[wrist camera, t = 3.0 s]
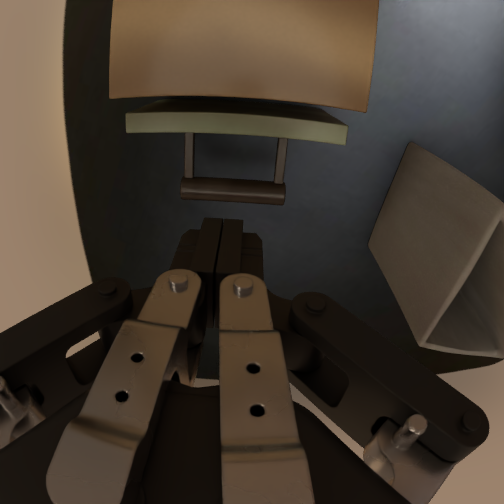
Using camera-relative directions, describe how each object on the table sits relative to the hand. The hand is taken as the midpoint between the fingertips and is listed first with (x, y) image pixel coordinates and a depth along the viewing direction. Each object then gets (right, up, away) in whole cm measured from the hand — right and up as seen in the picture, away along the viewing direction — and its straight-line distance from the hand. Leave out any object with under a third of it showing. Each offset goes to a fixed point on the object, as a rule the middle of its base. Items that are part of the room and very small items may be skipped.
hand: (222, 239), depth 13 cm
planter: (+16, +2, +17) cm, 24 cm away
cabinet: (+1, +19, +7) cm, 20 cm away
